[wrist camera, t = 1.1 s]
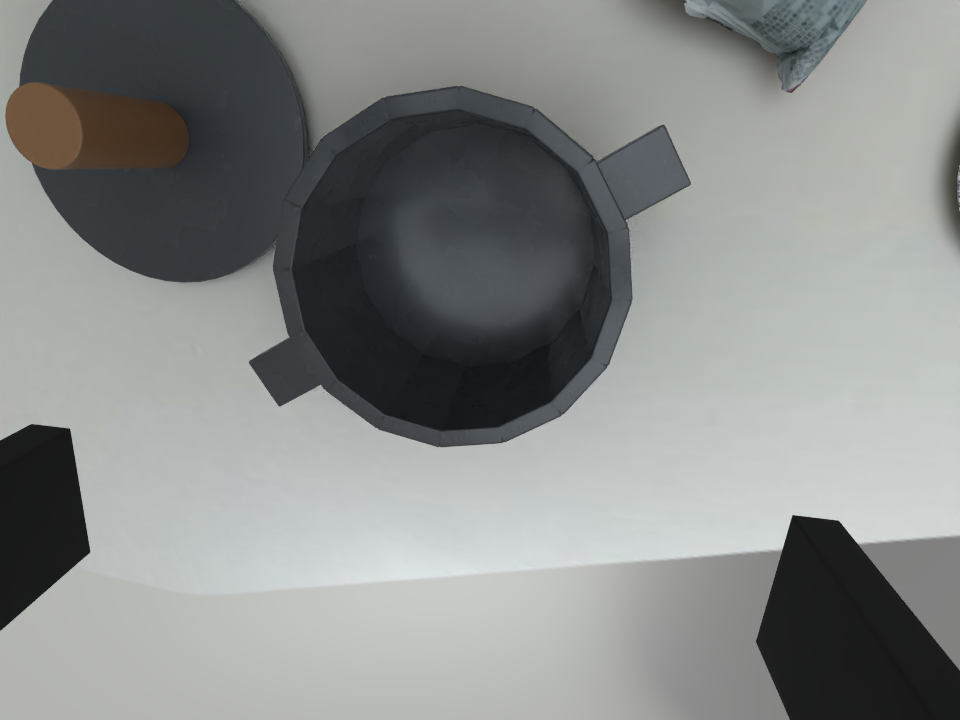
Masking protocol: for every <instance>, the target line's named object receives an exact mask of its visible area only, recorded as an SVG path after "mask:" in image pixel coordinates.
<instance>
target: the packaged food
mask: <svg viewBox="0 0 960 720" xmlns="http://www.w3.org/2000/svg"><path fill="white" fill-rule="evenodd" d="M686 1H687V2H686V3H684V5H685V11H686V13H687V14H688V15H690V16H694V17H698V18H702V19H705V18H706V17H708V18H710V19H712V20H714V21H715V22H717V23H721V26H724V27H726V28H728V29H729V30H732V31H736V32H737V33H739V34H742V35H744V36H746V37H748V38H751V39H753V40H755V41H757V42H759V43H760V44H761V47H762V48H763V49H764V50H765V51H768V52H769V53H775V54H776V55H777V56H778V60H777V63H776V65H777V69H778V77H779V79H780V80H781V82H782V88H781V89H783V90H785V91H786V92H789V93H792V92H793V91H794V90H795V89H796V88H797V87H798V86H799V85H800V84H801V83H802V82H803V81H804V80H805V79H806V78H807V77H808V76H809V75H810V73H811V72H812V71H813V70H814V69H815V68H816V66H817V65H818V64H819V63H820V61H821V60H822V59H823V58H824V56H825V55H826V54H827V53H828V51H829V50H830V49H831V47H832V46H833V45H834V43H835V42H836V41H837V39H838V38H839V37H840V35H841V34H842V33H843V32H844V31H845V29H846V28H847V27H848V25H849V24H850V23H851V21H852V20H853V19H854V17H855V16H856V14H857V13H858V12H859V11H860V9H861V8H862V7H863V5H864V4H865V2H866V1H867V0H686ZM780 73H781V77H780Z"/></svg>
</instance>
